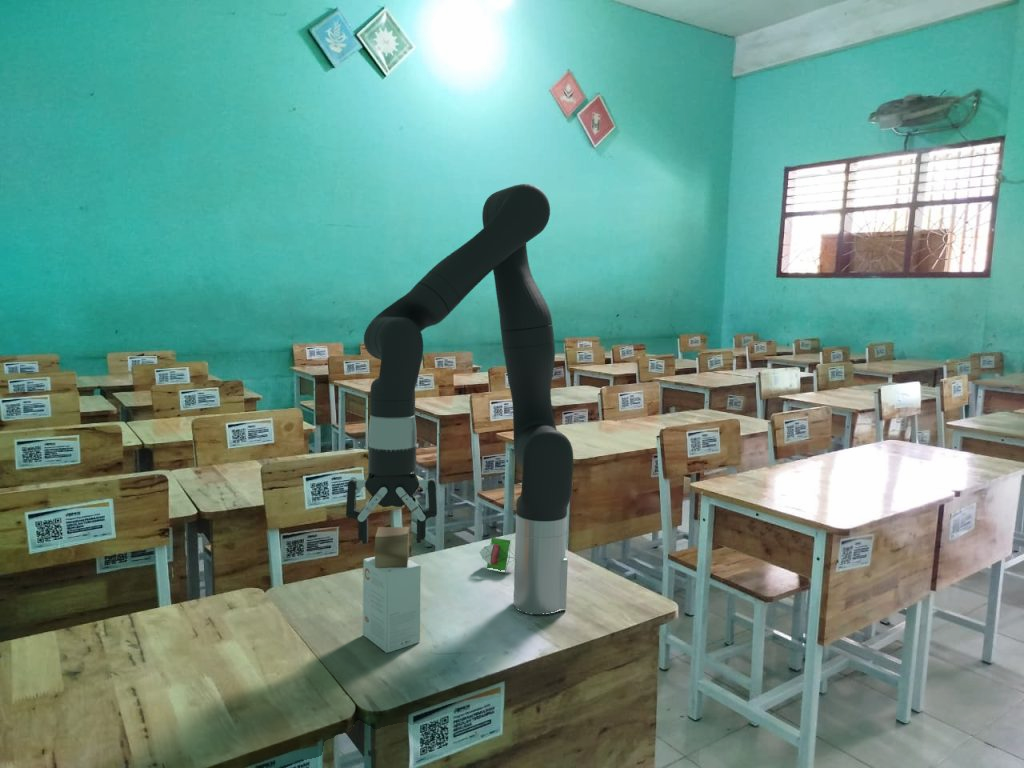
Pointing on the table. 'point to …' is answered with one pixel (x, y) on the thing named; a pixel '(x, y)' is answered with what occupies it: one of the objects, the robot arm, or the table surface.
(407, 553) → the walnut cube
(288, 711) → the table surface
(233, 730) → the table surface
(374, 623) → the small box
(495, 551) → the geometric puzzle
